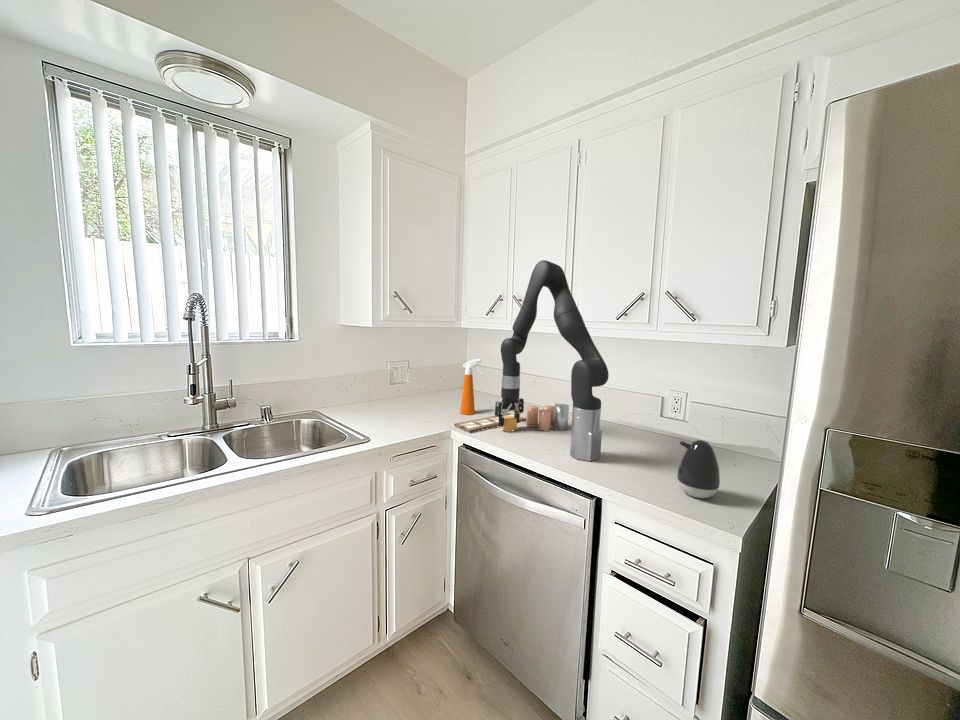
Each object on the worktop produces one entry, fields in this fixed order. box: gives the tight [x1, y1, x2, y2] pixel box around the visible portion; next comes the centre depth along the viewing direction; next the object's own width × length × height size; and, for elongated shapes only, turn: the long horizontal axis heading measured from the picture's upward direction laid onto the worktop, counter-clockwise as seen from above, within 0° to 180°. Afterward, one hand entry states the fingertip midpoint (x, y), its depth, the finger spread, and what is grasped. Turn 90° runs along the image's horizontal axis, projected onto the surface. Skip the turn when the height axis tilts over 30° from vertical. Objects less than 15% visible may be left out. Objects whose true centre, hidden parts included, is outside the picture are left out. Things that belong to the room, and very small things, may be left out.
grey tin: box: [553, 403, 570, 431], centre depth 166 cm, size 6×6×10 cm
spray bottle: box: [459, 358, 484, 416], centre depth 186 cm, size 7×11×26 cm, turn 89°
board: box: [453, 412, 526, 433], centre depth 170 cm, size 11×32×1 cm, turn 130°
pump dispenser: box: [676, 439, 721, 499], centre depth 106 cm, size 10×10×15 cm
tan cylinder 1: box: [525, 405, 540, 428], centre depth 169 cm, size 5×5×8 cm
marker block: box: [500, 416, 518, 432], centre depth 162 cm, size 4×4×5 cm
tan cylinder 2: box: [542, 404, 554, 427], centre depth 171 cm, size 5×5×8 cm
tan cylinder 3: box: [537, 408, 551, 432], centre depth 164 cm, size 5×5×8 cm
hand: (508, 424), depth 162 cm, fingers open, 8 cm apart
